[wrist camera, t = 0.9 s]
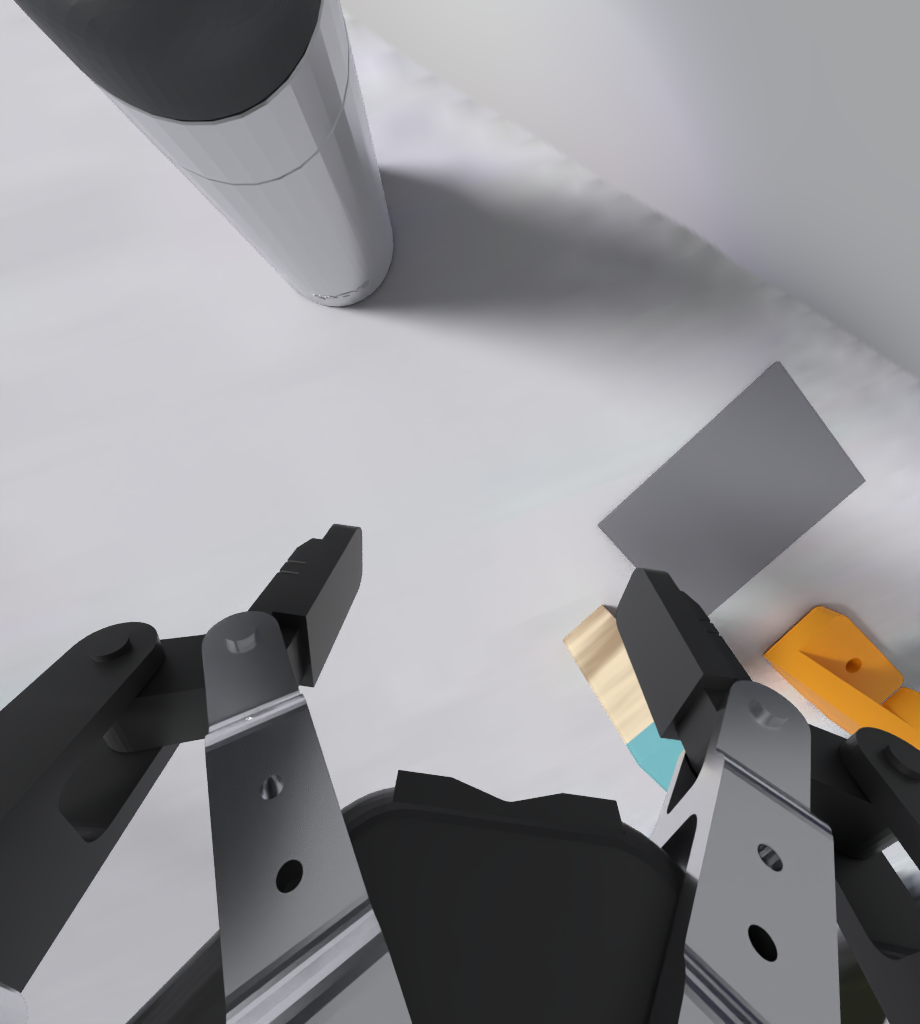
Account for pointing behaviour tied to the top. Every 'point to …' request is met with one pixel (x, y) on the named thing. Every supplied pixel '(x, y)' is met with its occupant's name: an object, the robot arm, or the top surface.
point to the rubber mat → (736, 492)
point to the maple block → (622, 694)
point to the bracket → (846, 676)
